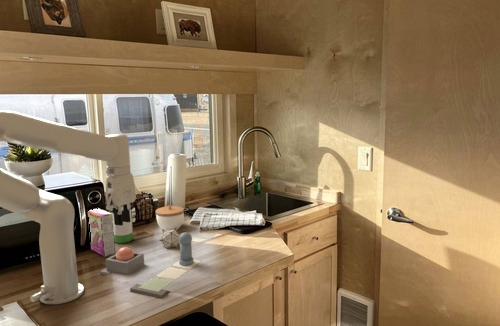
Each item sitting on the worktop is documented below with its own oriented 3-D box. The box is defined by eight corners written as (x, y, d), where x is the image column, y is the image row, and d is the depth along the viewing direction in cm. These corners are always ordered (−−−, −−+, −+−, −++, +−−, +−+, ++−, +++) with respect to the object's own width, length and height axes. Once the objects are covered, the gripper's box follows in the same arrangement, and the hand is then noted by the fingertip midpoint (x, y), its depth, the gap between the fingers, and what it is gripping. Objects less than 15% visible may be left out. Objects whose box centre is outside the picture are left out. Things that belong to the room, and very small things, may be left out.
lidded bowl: (190, 228, 189) (189, 204, 187) (168, 235, 180) (167, 211, 178) (172, 222, 197) (171, 200, 196) (151, 229, 188) (149, 206, 186)
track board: (161, 298, 125) (161, 294, 125) (130, 291, 130) (130, 287, 130) (208, 263, 150) (208, 260, 150) (180, 258, 155) (180, 255, 155)
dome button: (126, 267, 141) (125, 251, 140) (112, 264, 144) (111, 249, 143) (137, 260, 147) (136, 245, 146) (124, 258, 149) (123, 243, 148)
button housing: (128, 279, 138) (126, 265, 137) (100, 274, 143) (99, 260, 142) (150, 266, 149) (149, 252, 148) (124, 261, 153) (123, 248, 153)
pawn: (188, 266, 145) (187, 235, 143) (176, 264, 147) (175, 234, 145) (196, 261, 149) (194, 231, 147) (184, 259, 151) (183, 229, 149)
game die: (174, 258, 164) (175, 244, 157) (155, 250, 165) (155, 236, 158) (184, 241, 171) (186, 227, 163) (165, 233, 172) (166, 219, 165)
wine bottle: (114, 245, 170) (109, 173, 165) (113, 239, 177) (107, 169, 172) (134, 242, 173) (129, 171, 168) (132, 236, 180) (127, 168, 175)
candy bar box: (90, 250, 165) (86, 210, 162) (101, 246, 168) (98, 207, 166) (104, 257, 157) (100, 215, 154) (116, 253, 161) (112, 212, 158)
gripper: (110, 176, 131) (114, 232, 134) (143, 167, 145) (146, 217, 149) (92, 174, 134) (96, 229, 137) (126, 166, 148) (129, 215, 152)
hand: (122, 222), depth 143 cm, fingers open, 3 cm apart
